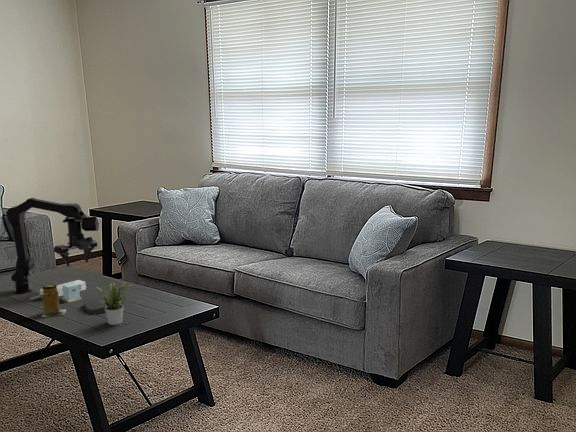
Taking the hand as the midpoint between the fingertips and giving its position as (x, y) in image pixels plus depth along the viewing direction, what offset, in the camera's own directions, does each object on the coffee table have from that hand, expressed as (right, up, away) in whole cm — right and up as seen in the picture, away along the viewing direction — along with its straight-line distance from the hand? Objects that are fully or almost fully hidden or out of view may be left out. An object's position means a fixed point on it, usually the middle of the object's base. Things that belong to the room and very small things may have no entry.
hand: (77, 264), depth 253 cm
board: (+2, -14, -12) cm, 19 cm away
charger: (+1, -14, -12) cm, 18 cm away
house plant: (+32, -19, -41) cm, 55 cm away
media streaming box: (+20, -17, -22) cm, 34 cm away
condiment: (+2, -18, -30) cm, 35 cm away
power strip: (-6, -13, -6) cm, 16 cm away
